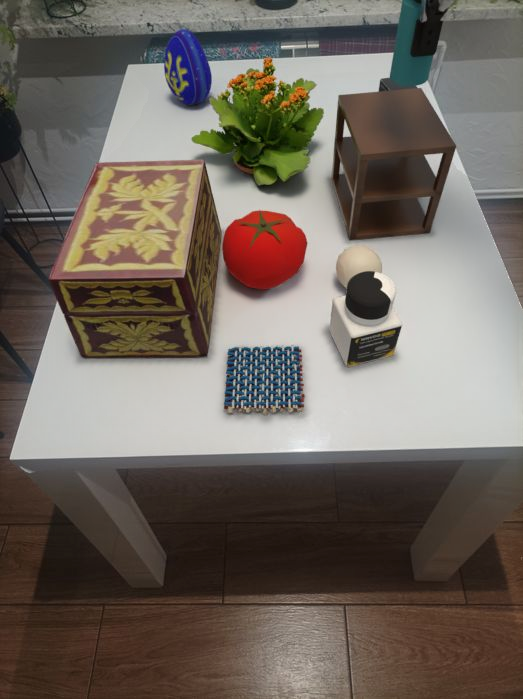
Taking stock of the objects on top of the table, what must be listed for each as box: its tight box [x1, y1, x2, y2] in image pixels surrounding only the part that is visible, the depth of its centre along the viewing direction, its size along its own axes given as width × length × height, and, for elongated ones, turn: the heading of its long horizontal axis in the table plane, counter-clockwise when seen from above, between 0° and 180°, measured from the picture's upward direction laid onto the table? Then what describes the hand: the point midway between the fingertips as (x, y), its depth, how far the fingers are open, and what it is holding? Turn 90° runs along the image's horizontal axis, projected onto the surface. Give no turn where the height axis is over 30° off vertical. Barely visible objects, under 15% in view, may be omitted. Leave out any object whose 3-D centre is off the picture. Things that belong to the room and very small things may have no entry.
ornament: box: [163, 28, 213, 106], centre depth 107 cm, size 11×9×15 cm
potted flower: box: [191, 57, 325, 187], centre depth 90 cm, size 25×24×18 cm
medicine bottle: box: [329, 271, 403, 368], centre depth 63 cm, size 7×7×12 cm
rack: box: [331, 87, 457, 241], centre depth 80 cm, size 14×18×16 cm
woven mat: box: [223, 344, 306, 416], centre depth 64 cm, size 10×11×2 cm
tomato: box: [221, 209, 308, 290], centre depth 73 cm, size 13×12×11 cm
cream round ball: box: [335, 244, 383, 289], centre depth 73 cm, size 7×7×7 cm
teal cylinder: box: [389, 0, 434, 87], centre depth 62 cm, size 5×5×9 cm
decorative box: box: [48, 159, 222, 359], centre depth 70 cm, size 28×19×15 cm
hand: (415, 43), depth 62 cm, fingers closed on teal cylinder, 5 cm apart
